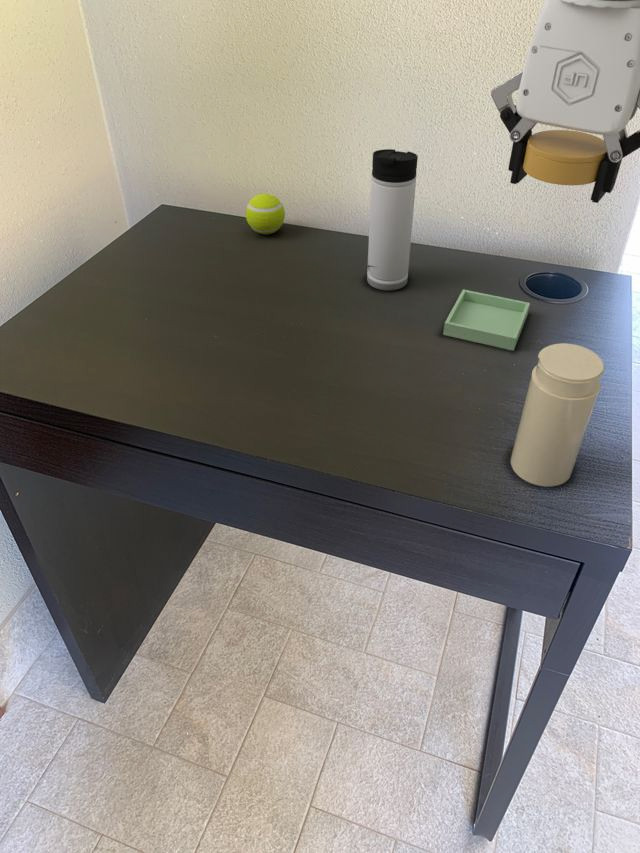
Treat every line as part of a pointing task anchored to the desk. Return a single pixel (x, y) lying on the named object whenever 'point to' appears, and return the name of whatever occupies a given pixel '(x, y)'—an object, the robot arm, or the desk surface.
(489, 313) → the tray
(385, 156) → the travel mug
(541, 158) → the lid
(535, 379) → the jar
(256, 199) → the tennis ball
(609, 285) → the desk surface
